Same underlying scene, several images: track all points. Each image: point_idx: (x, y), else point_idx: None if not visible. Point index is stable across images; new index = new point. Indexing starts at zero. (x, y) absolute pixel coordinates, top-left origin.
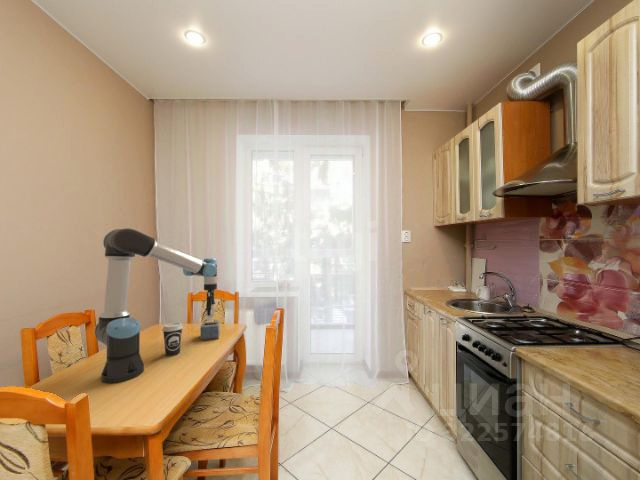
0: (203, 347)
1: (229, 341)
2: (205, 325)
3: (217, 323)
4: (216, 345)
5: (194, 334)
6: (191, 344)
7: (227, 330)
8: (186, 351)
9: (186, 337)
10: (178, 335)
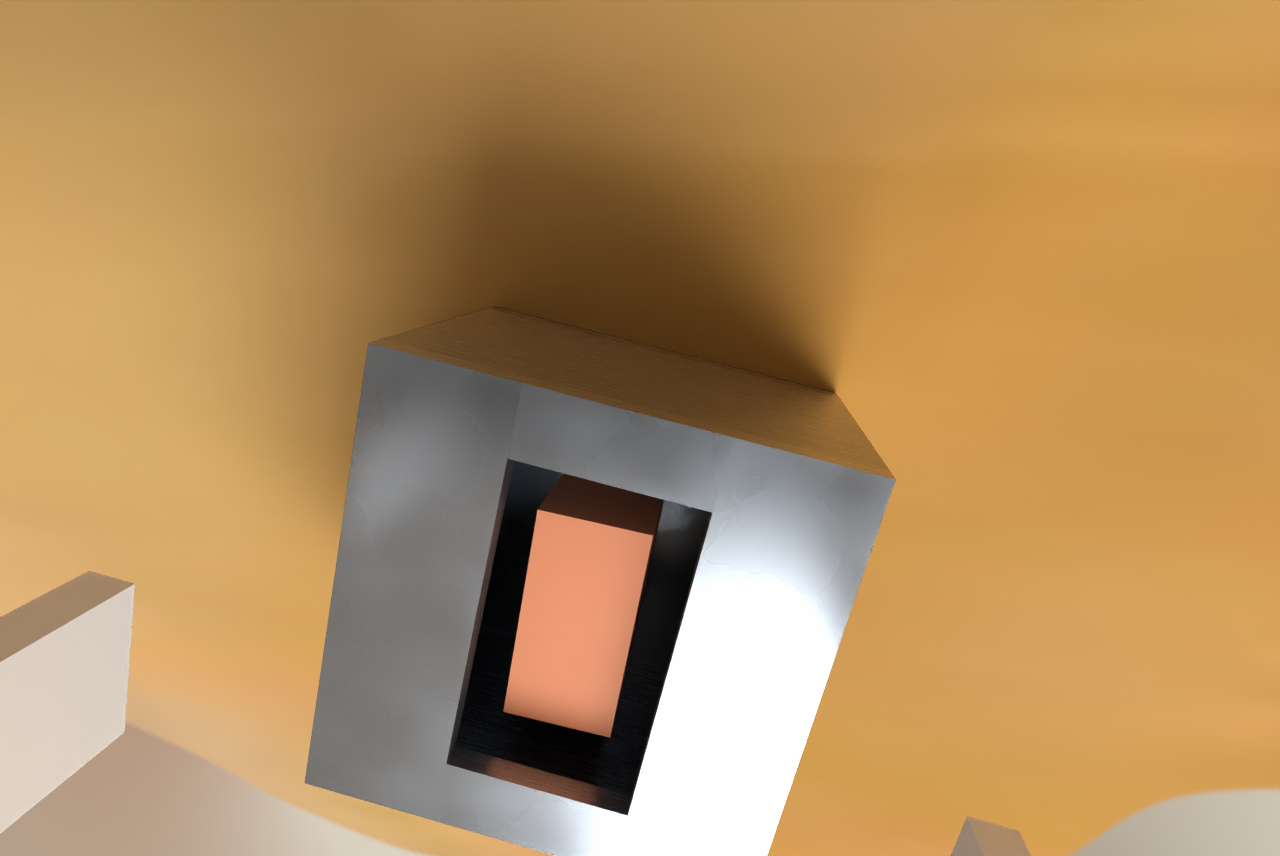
0: (99, 316)
1: (221, 729)
2: (466, 495)
3: (504, 803)
4: (116, 521)
5: (1012, 223)
6: (345, 120)
7: (854, 848)
8: (5, 13)
9: (887, 29)
10: None
